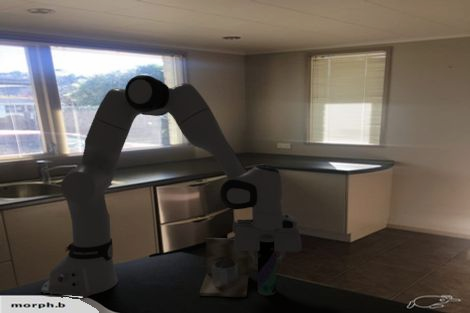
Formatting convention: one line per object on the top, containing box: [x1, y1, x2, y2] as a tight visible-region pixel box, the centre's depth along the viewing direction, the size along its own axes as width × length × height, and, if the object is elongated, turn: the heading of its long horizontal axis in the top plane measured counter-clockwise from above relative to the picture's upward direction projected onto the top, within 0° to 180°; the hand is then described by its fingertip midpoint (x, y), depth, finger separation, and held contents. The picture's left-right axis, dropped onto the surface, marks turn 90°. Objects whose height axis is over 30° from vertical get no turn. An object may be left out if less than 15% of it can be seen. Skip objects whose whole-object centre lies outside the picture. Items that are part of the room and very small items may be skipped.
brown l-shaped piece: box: [198, 237, 250, 298], centre depth 111 cm, size 14×14×13 cm
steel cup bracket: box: [212, 257, 238, 289], centre depth 112 cm, size 8×10×6 cm
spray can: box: [257, 235, 277, 297], centre depth 107 cm, size 6×6×20 cm
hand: (267, 264), depth 107 cm, fingers open, 6 cm apart
